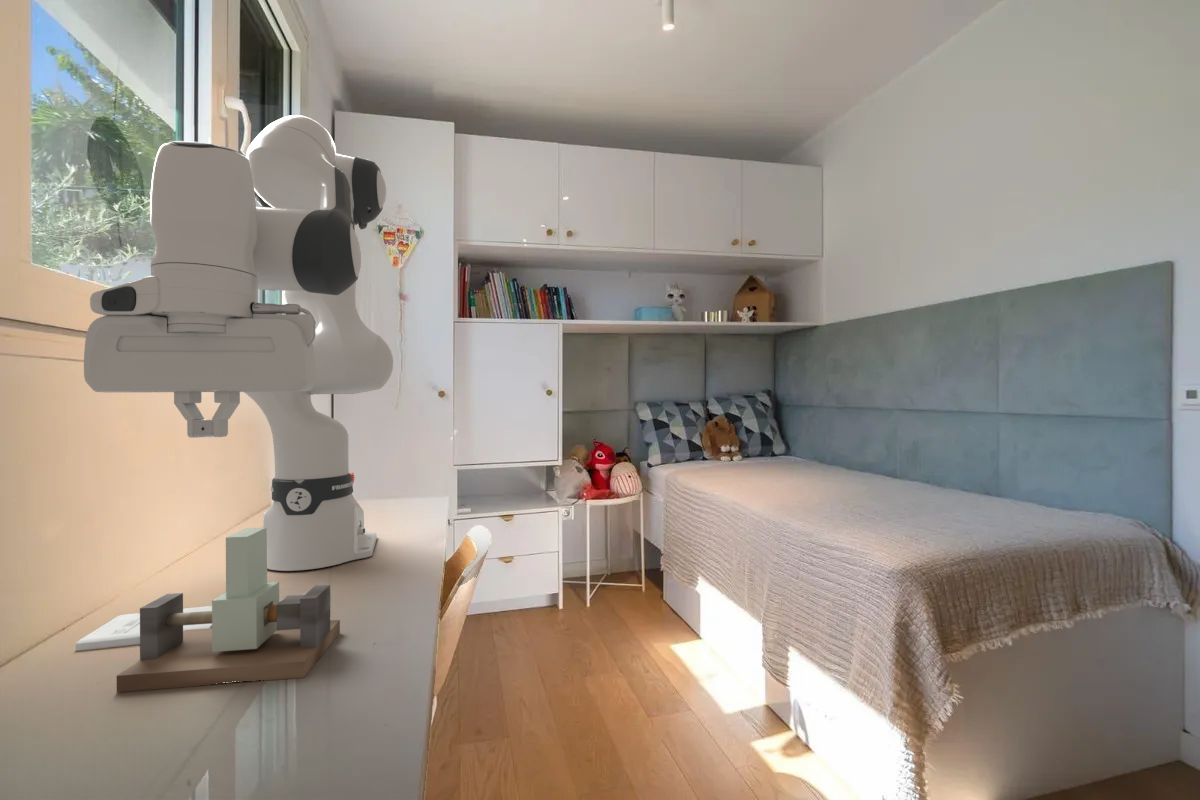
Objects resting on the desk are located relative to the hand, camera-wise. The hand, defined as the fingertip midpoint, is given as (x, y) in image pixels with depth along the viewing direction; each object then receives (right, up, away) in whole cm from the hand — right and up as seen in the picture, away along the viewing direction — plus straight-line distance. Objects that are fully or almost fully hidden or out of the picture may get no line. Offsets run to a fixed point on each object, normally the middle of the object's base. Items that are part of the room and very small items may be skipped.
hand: (208, 437), depth 54 cm
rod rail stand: (+3, -23, 0) cm, 23 cm away
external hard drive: (-11, -24, +8) cm, 28 cm away
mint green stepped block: (+4, -21, 0) cm, 21 cm away
